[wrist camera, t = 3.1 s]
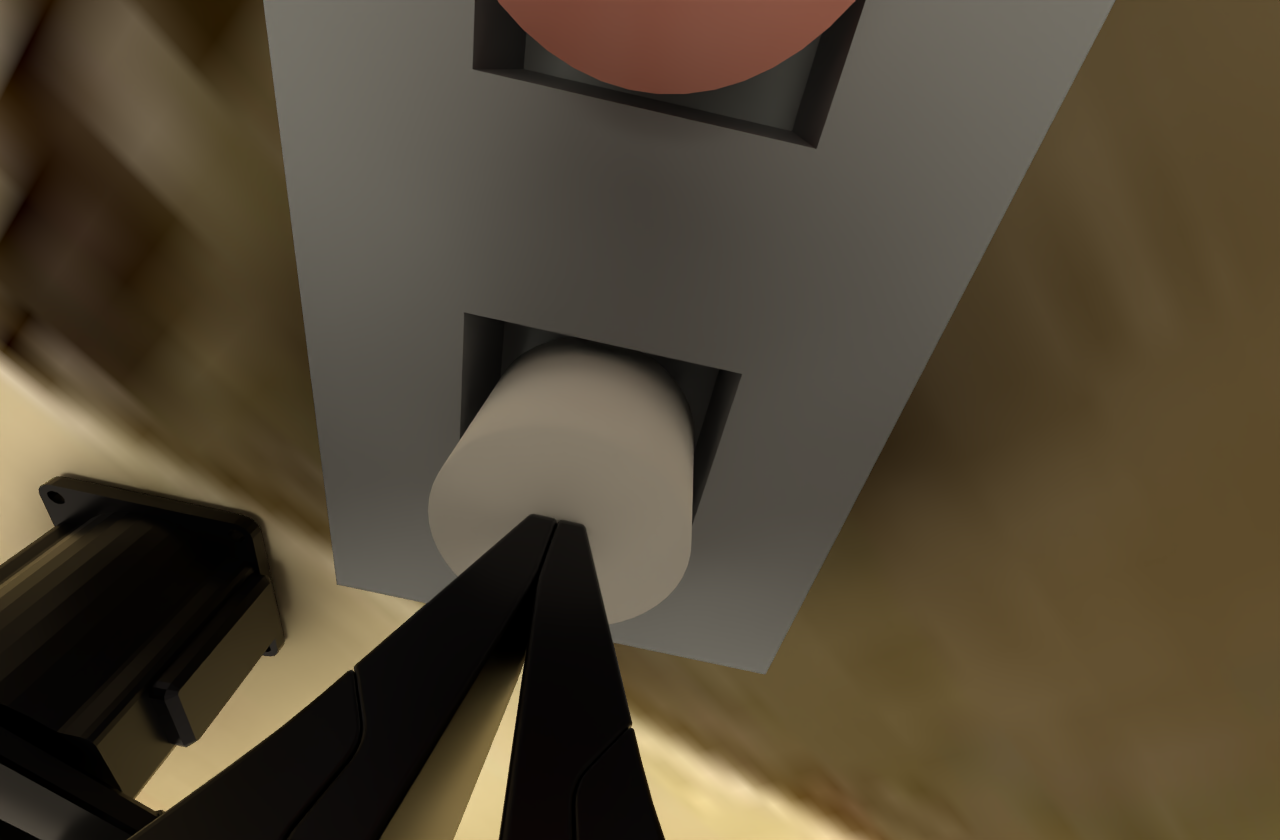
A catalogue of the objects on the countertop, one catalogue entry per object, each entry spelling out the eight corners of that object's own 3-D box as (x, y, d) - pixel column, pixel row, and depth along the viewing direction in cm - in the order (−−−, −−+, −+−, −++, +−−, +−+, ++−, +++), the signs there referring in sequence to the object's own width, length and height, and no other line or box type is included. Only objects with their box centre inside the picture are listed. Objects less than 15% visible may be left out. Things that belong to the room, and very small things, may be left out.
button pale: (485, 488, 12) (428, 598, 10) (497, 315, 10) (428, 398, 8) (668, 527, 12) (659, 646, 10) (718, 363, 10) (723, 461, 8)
